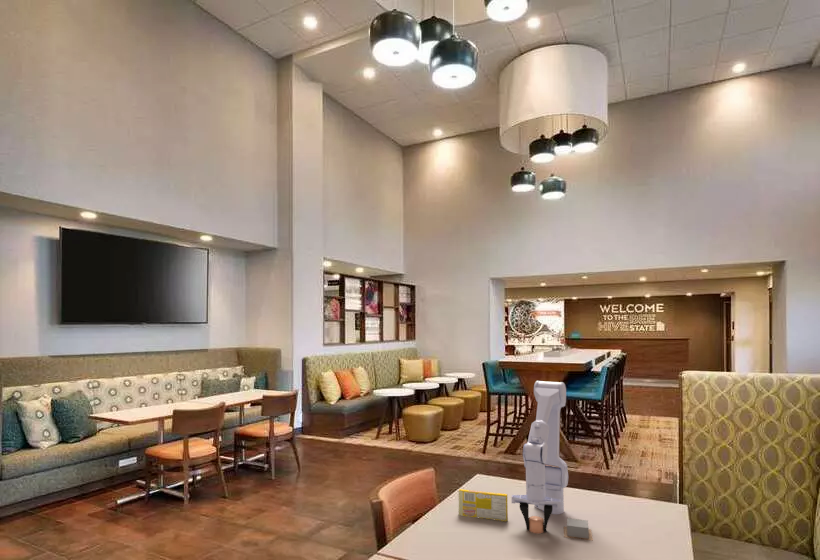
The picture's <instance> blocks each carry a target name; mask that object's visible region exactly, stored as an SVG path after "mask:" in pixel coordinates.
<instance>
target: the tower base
mask: <svg viewBox="0 0 820 560" xmlns="http://www.w3.org/2000/svg"><path fill="white" fill-rule="evenodd" d="M563 538H566V539H567V538H568V539H577V540H584V541H585V540H586V541H593V540H594V539H593V533H592V529H589V539H587V538H579V537H571V536H567V526H563Z"/></svg>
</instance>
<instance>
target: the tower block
mask: <svg viewBox="0 0 820 560" xmlns="http://www.w3.org/2000/svg"><path fill="white" fill-rule="evenodd" d="M566 527H567V536H571V537H579V538H587V539H589V520H588V519H587V520H586V519H578V518H571V517H567V518H566Z"/></svg>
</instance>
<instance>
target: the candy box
mask: <svg viewBox="0 0 820 560" xmlns="http://www.w3.org/2000/svg"><path fill="white" fill-rule="evenodd" d="M460 515H461V516H462V517H467V516H469V517H468V518H475V517H479V518H478V519H483V518H486V519H485V520H490V519H495V520H494V521H498V520H501V521H500V522H506V521H507V522H508V520H509V517H508V516H509V515H508V493H500V492H493V491H492V492H490V491H489V492H488V491H482V490H481V491H480V490H471V489H462V488H460V489H458V516H460Z"/></svg>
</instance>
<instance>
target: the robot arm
mask: <svg viewBox="0 0 820 560" xmlns="http://www.w3.org/2000/svg"><path fill="white" fill-rule="evenodd" d="M533 395H534V397H535V398H534V399H535V401H536V402H537V407H536V417H535V420H534V421H533V422H531V425H530V430H529V434H528V437H527V438H528V439H527V442H526V443H524V444H523V446H522V447H523V448H522V458H523V459H522V460H523V467H524V468H525V494H511V504H519V509H520V512H521V514H522V516H523V519H524V522H525V527H526V530H528V531H529V512H530V511H529V508H530V507H529V505H534V508H536V509H539V510H541V511H542V512H543V519H544V532H543V533H546V532H547V527H548V522H549V520H550V517H551V515H560V514H563V513H564V512H565V506H564V505H565V503H564V502H565V501H564V489H565V488H567V486H568V484H569V472H568V471H569V470H568V464H567V463H566V462H565V460H564V459H562V458H561V457H560V429H561V427H560V425H561V423H560V420H561V409H562V408H563V407H566V404H567V386H566V384H565V382H563V381H560V382H559V381H543V380H536V381H535V382H534V385H533Z"/></svg>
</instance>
